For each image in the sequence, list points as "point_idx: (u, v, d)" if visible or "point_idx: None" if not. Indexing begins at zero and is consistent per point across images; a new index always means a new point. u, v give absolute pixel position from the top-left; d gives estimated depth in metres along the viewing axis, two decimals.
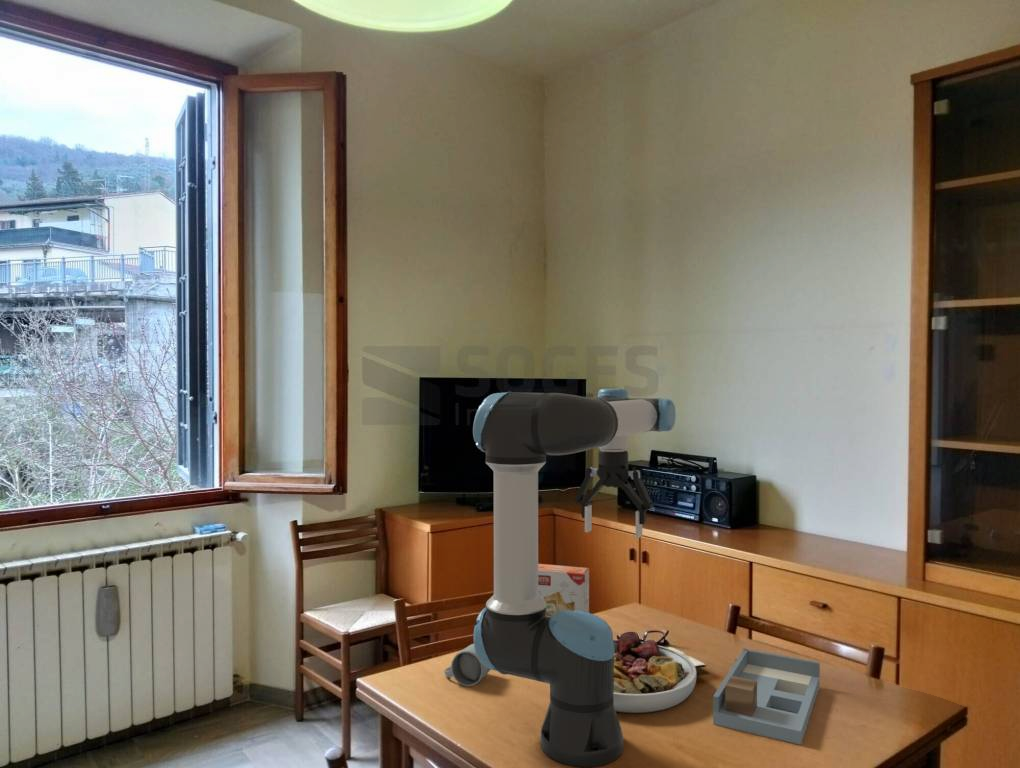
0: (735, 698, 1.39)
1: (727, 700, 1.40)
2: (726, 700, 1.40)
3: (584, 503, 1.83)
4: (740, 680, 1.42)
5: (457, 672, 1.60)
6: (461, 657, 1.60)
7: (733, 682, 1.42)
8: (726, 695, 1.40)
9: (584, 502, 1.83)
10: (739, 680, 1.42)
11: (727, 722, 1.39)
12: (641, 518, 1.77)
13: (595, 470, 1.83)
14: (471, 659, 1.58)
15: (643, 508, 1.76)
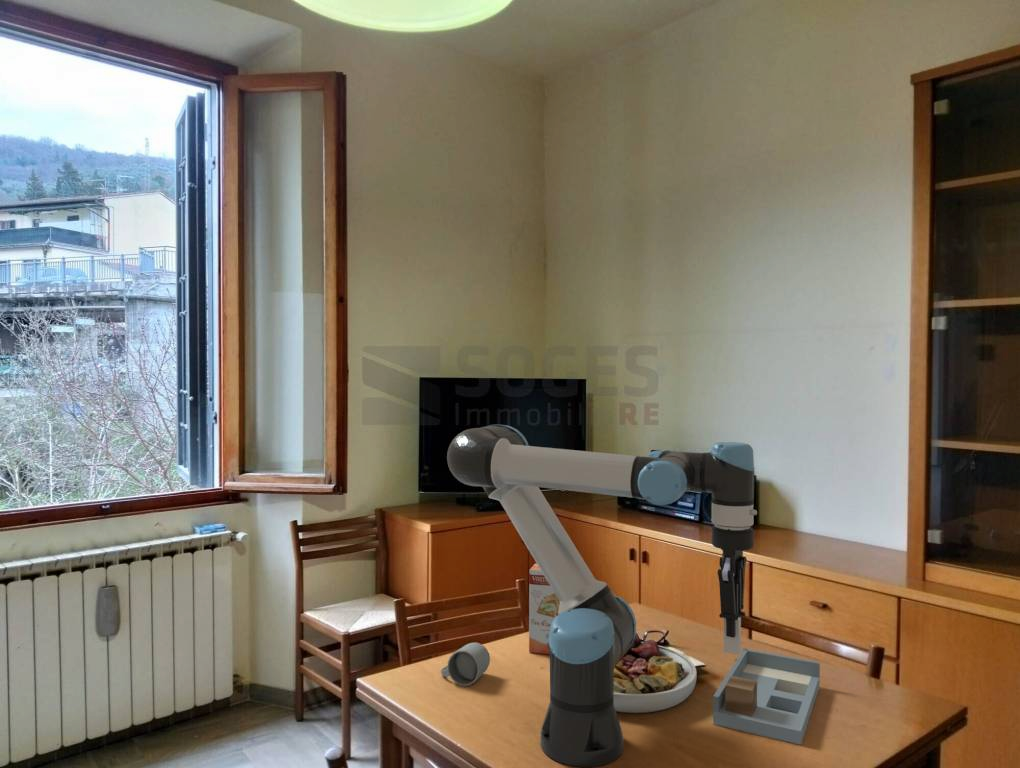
0: (735, 698, 1.39)
1: (727, 700, 1.40)
2: (726, 700, 1.40)
3: None
4: (740, 680, 1.42)
5: (453, 671, 1.60)
6: (457, 656, 1.60)
7: (733, 682, 1.42)
8: (726, 695, 1.40)
9: None
10: (739, 680, 1.42)
11: (727, 722, 1.39)
12: None
13: None
14: (467, 659, 1.59)
15: None
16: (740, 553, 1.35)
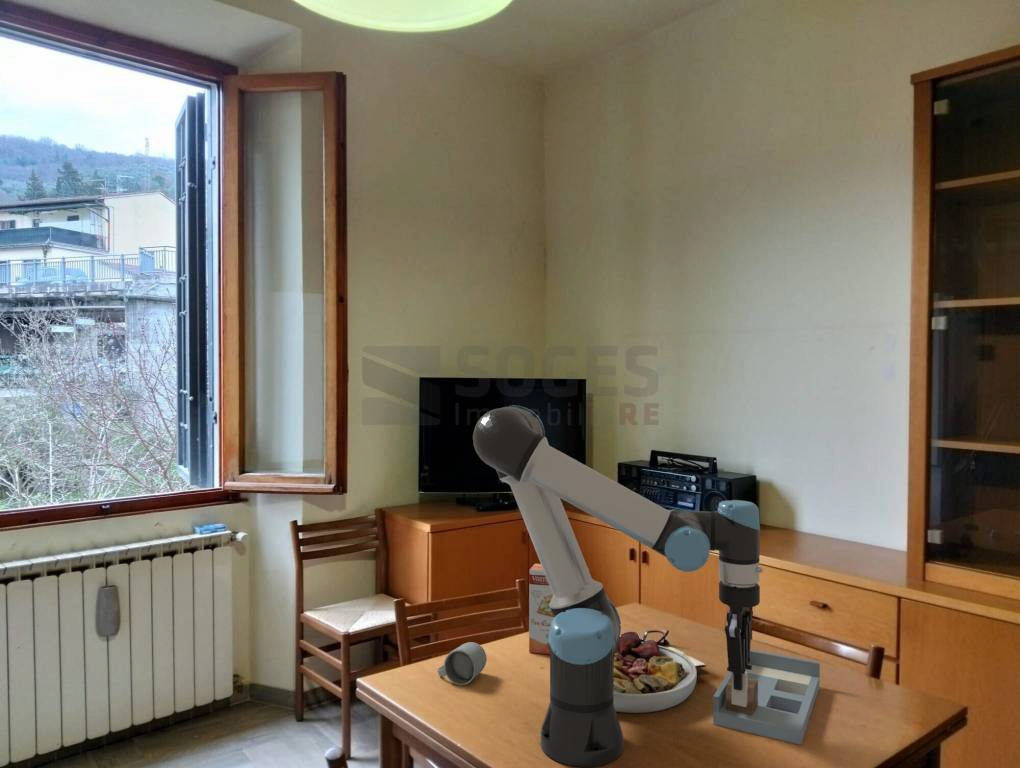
0: None
1: (727, 699, 1.41)
2: (727, 699, 1.41)
3: None
4: None
5: (450, 671, 1.61)
6: (454, 656, 1.60)
7: None
8: (727, 694, 1.41)
9: None
10: None
11: (727, 722, 1.39)
12: None
13: None
14: (464, 658, 1.59)
15: None
16: (746, 608, 1.39)
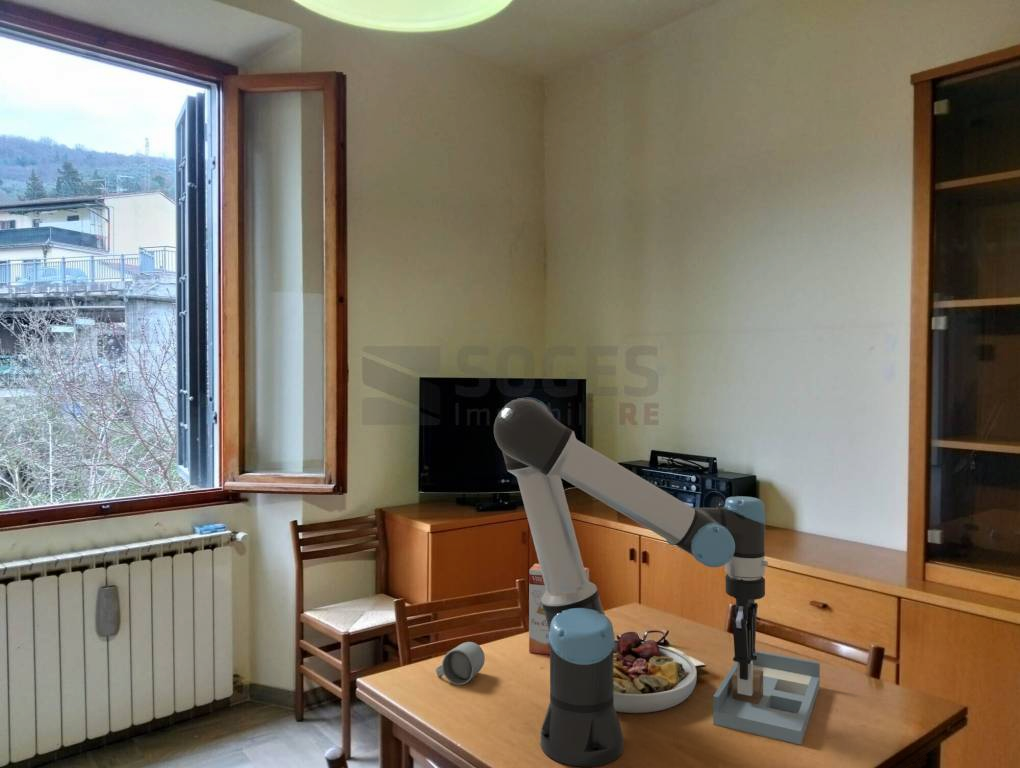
0: None
1: (734, 689, 1.45)
2: (733, 689, 1.45)
3: None
4: None
5: (448, 670, 1.61)
6: (452, 656, 1.61)
7: None
8: (733, 684, 1.45)
9: None
10: None
11: (727, 722, 1.39)
12: (740, 670, 1.43)
13: None
14: (462, 658, 1.59)
15: None
16: (752, 600, 1.44)
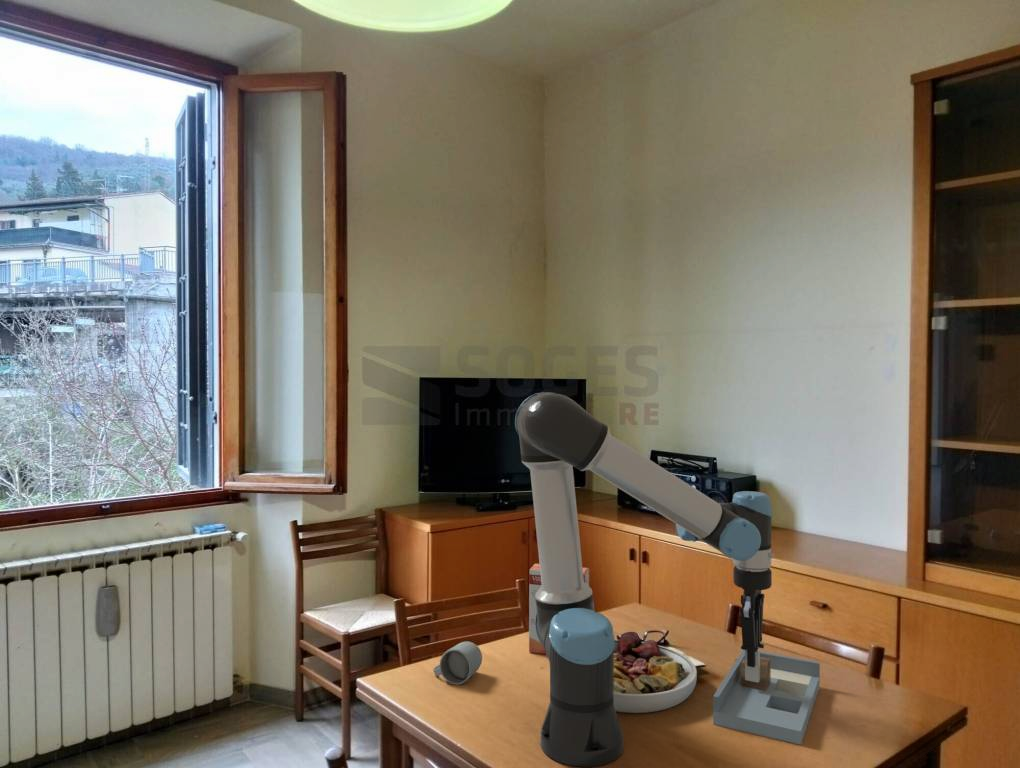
0: None
1: (742, 676, 1.51)
2: (742, 676, 1.51)
3: None
4: None
5: (445, 670, 1.61)
6: (449, 655, 1.61)
7: None
8: (742, 671, 1.51)
9: None
10: None
11: (727, 722, 1.39)
12: None
13: None
14: (459, 658, 1.59)
15: None
16: (759, 591, 1.50)
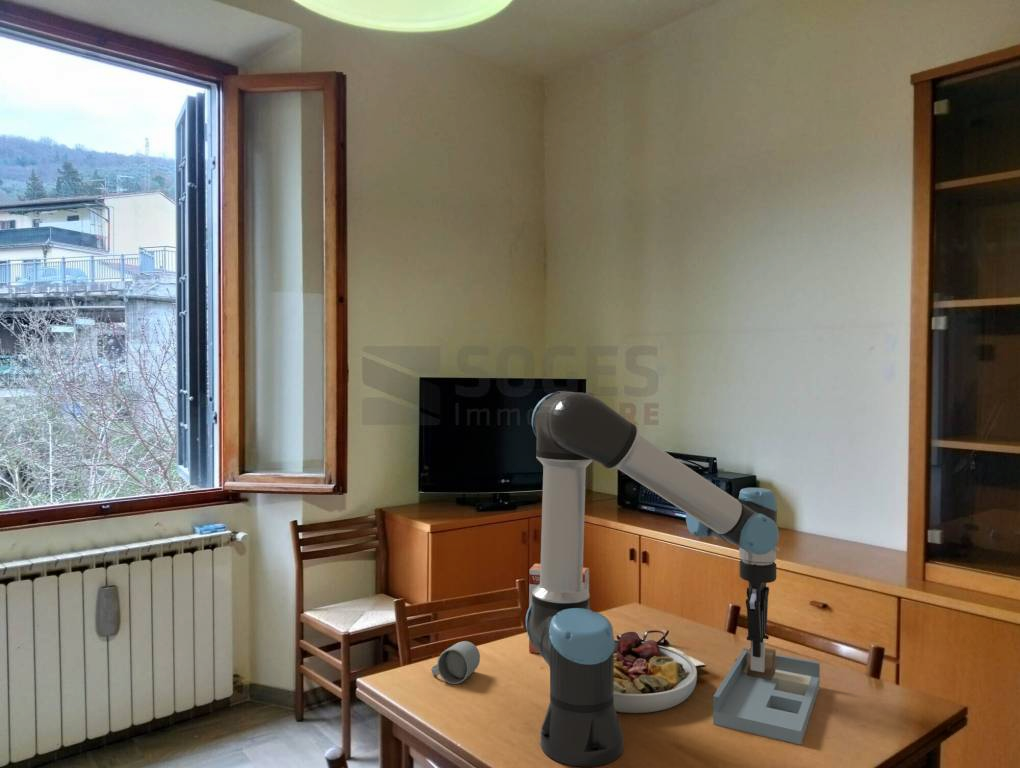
0: None
1: (748, 666, 1.56)
2: (748, 666, 1.57)
3: None
4: None
5: (443, 670, 1.61)
6: (447, 655, 1.61)
7: None
8: (748, 662, 1.57)
9: None
10: None
11: (727, 722, 1.39)
12: (753, 649, 1.54)
13: None
14: (457, 657, 1.60)
15: (751, 639, 1.54)
16: (764, 584, 1.55)
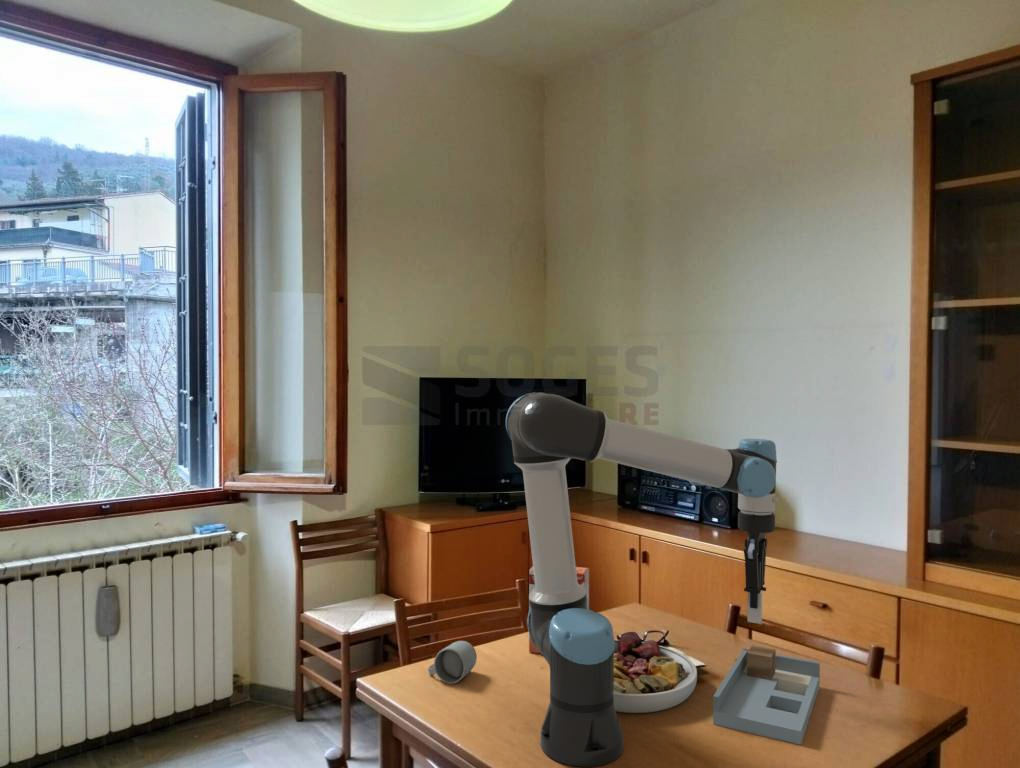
0: (756, 664, 1.56)
1: (748, 666, 1.56)
2: (748, 666, 1.57)
3: None
4: (760, 649, 1.59)
5: (440, 669, 1.61)
6: (444, 654, 1.61)
7: (754, 650, 1.58)
8: (748, 661, 1.57)
9: None
10: (759, 649, 1.59)
11: (727, 722, 1.39)
12: None
13: None
14: (454, 657, 1.60)
15: (748, 590, 1.52)
16: (762, 535, 1.54)
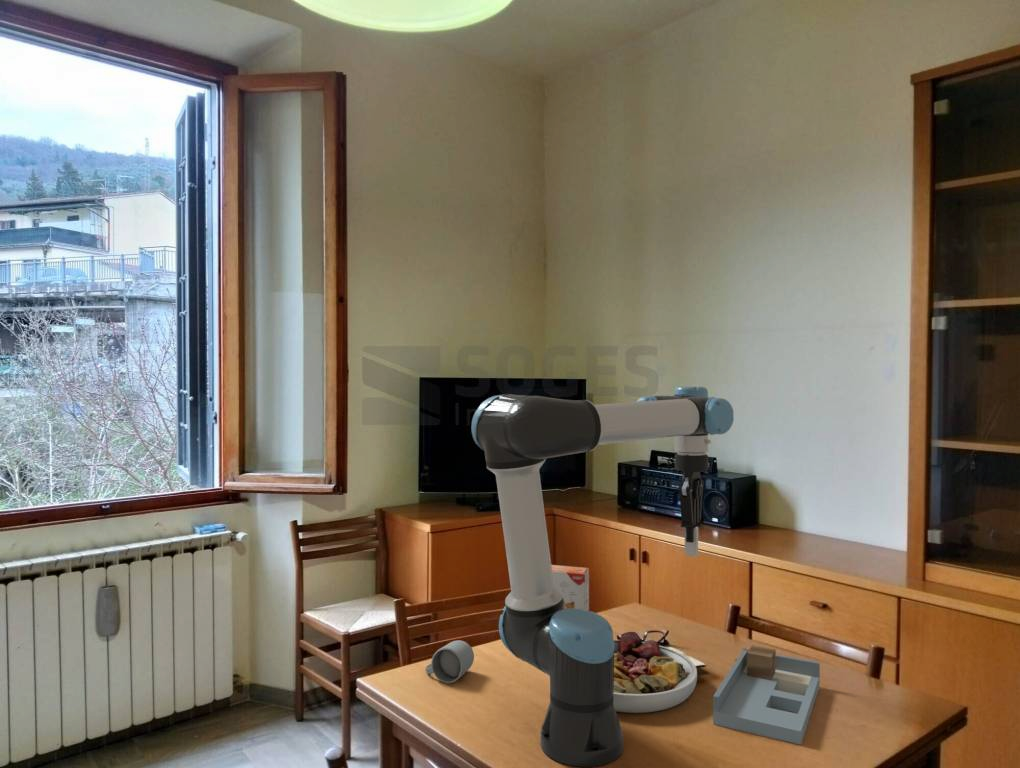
0: (756, 664, 1.56)
1: (748, 666, 1.56)
2: (748, 666, 1.57)
3: None
4: (760, 649, 1.59)
5: (437, 669, 1.62)
6: (441, 654, 1.61)
7: (754, 650, 1.58)
8: (748, 661, 1.57)
9: None
10: (759, 649, 1.59)
11: (727, 722, 1.39)
12: None
13: None
14: (451, 656, 1.60)
15: (684, 526, 1.65)
16: (698, 476, 1.67)
